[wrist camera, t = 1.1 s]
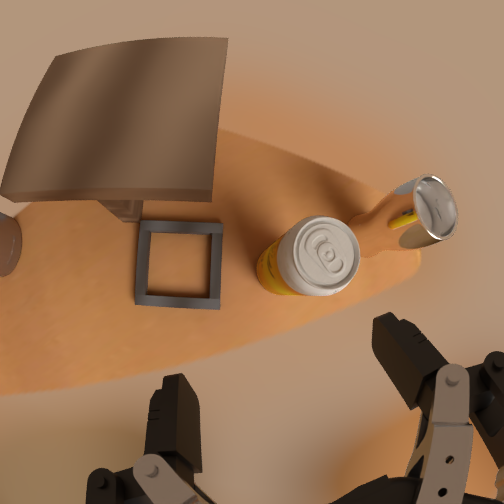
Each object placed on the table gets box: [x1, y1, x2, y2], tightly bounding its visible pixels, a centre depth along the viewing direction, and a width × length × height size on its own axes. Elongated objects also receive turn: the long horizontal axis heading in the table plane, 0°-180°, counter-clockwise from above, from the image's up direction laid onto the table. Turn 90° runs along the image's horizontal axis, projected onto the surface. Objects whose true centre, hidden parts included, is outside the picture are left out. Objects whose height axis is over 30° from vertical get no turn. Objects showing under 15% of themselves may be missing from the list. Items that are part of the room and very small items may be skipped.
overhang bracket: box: [0, 37, 228, 310], centre depth 22 cm, size 13×16×23 cm
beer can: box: [257, 216, 360, 296], centre depth 27 cm, size 6×6×15 cm
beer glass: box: [347, 174, 458, 258], centre depth 29 cm, size 7×7×15 cm
